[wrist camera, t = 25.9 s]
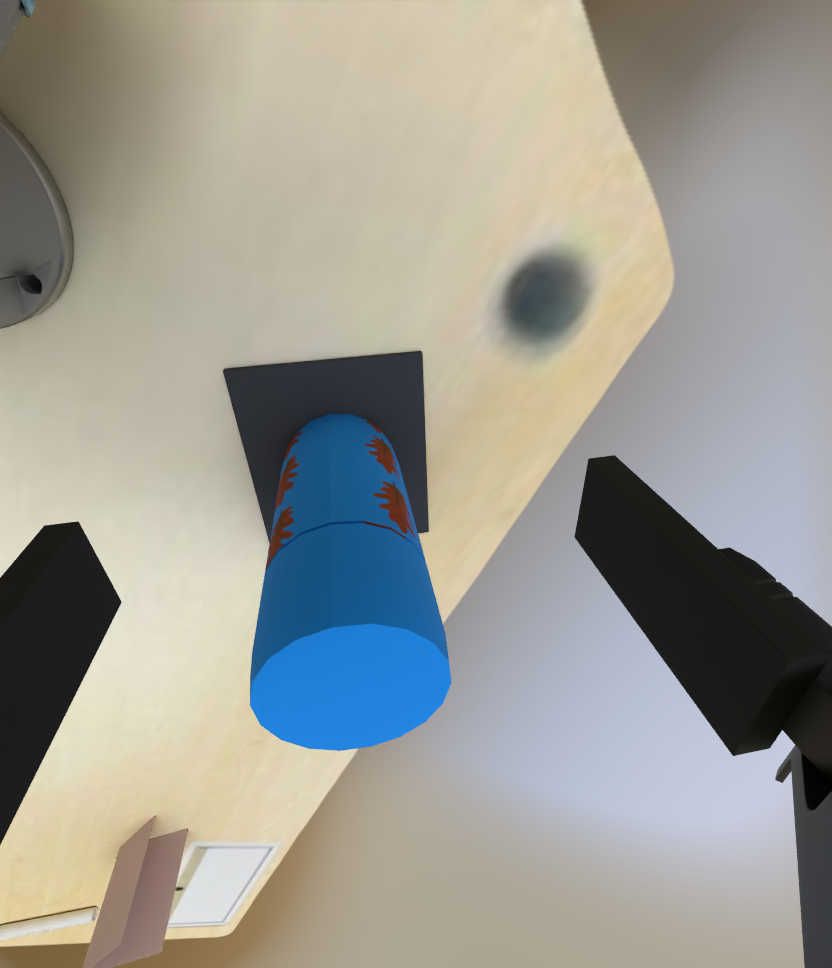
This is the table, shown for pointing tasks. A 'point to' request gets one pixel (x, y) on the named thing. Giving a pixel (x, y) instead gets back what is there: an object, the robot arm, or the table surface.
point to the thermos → (345, 598)
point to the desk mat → (331, 390)
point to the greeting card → (137, 899)
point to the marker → (47, 923)
